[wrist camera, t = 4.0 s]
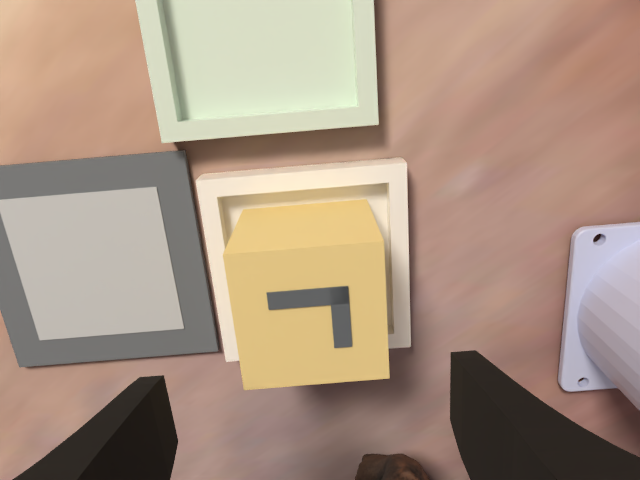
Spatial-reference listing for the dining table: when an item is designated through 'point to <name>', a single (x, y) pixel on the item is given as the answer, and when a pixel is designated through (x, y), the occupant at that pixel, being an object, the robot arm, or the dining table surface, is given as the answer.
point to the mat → (102, 260)
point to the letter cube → (308, 294)
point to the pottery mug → (389, 468)
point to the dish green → (259, 66)
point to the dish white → (308, 188)
